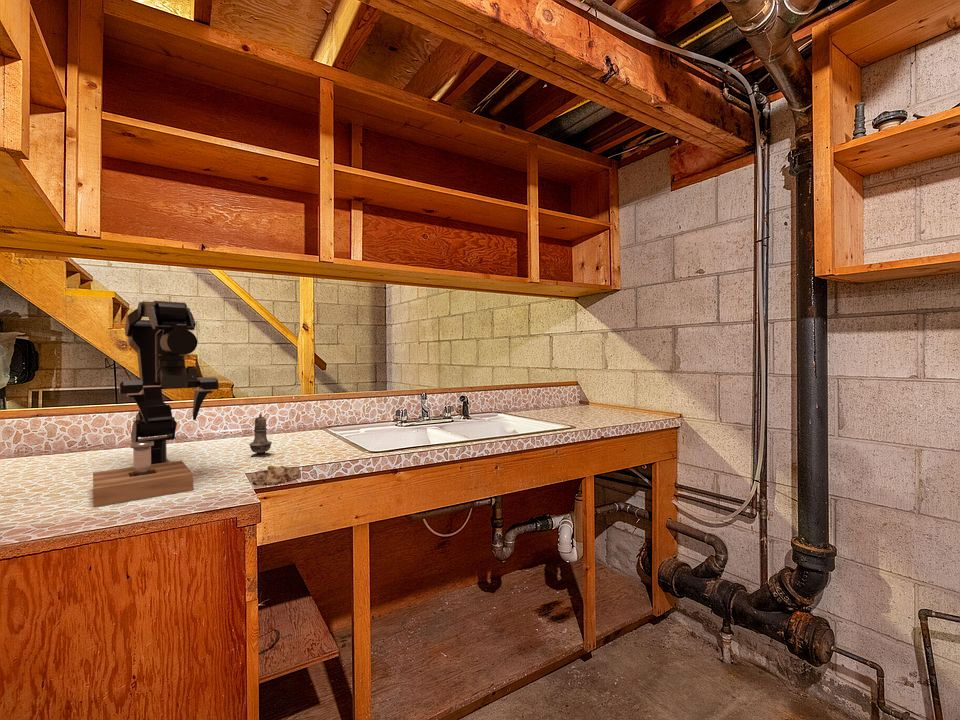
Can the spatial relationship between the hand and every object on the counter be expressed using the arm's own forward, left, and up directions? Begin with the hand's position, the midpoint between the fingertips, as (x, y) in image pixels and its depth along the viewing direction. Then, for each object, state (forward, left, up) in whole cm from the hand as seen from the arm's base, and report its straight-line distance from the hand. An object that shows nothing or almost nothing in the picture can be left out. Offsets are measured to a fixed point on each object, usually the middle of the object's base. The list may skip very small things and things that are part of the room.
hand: (171, 422), depth 105 cm
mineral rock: (+19, +18, -14) cm, 29 cm away
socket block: (+7, -6, -13) cm, 16 cm away
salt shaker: (-10, +22, -13) cm, 28 cm away
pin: (+7, -6, -13) cm, 16 cm away
